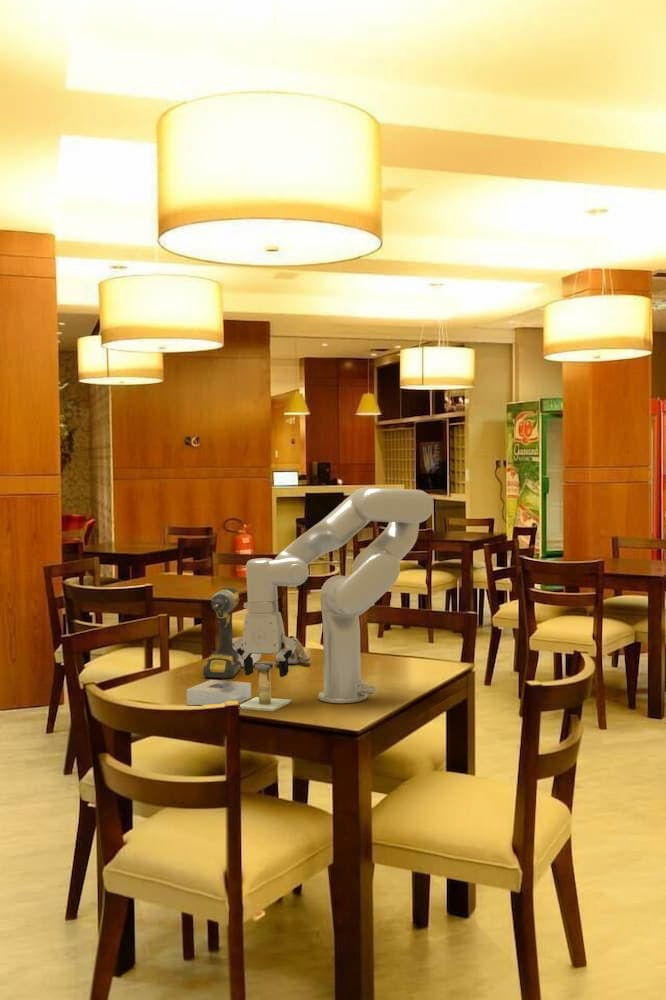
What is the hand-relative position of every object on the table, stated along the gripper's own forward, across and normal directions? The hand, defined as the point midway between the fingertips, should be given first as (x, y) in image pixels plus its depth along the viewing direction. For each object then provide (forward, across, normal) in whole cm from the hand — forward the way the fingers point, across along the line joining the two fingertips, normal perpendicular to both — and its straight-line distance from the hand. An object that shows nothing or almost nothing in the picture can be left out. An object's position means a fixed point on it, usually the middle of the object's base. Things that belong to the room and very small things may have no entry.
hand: (266, 675), depth 246 cm
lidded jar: (+8, -30, +44) cm, 53 cm away
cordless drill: (+8, -29, +26) cm, 40 cm away
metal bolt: (+7, 0, -1) cm, 7 cm away
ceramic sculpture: (+8, -17, +50) cm, 54 cm away
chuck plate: (+7, -14, 0) cm, 16 cm away
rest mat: (+8, -1, 0) cm, 8 cm away
